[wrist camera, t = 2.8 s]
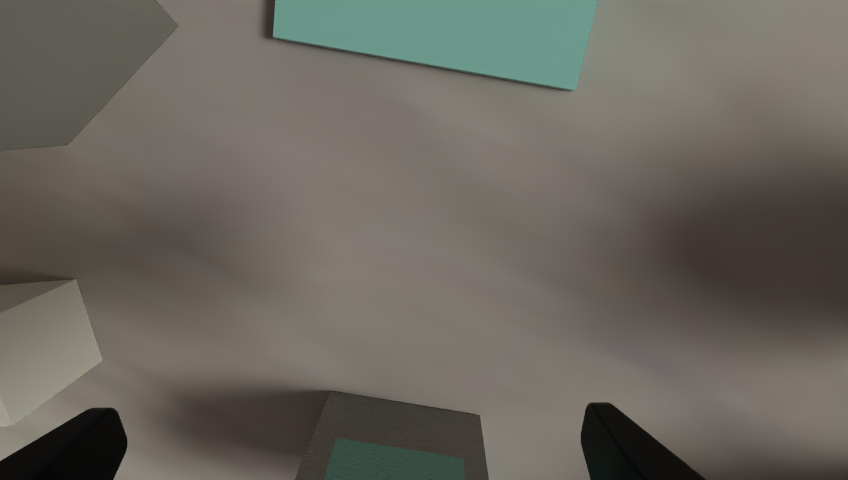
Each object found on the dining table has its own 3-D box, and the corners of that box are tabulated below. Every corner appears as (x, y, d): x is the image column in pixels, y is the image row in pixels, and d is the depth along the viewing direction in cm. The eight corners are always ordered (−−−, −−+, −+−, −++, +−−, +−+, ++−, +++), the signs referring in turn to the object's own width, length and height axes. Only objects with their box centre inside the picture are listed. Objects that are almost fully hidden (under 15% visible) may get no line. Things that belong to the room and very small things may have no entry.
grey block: (103, 359, 20) (12, 425, 16) (21, 365, 21) (-90, 431, 16) (77, 278, 19) (-28, 325, 15) (-10, 285, 20) (-137, 334, 15)
